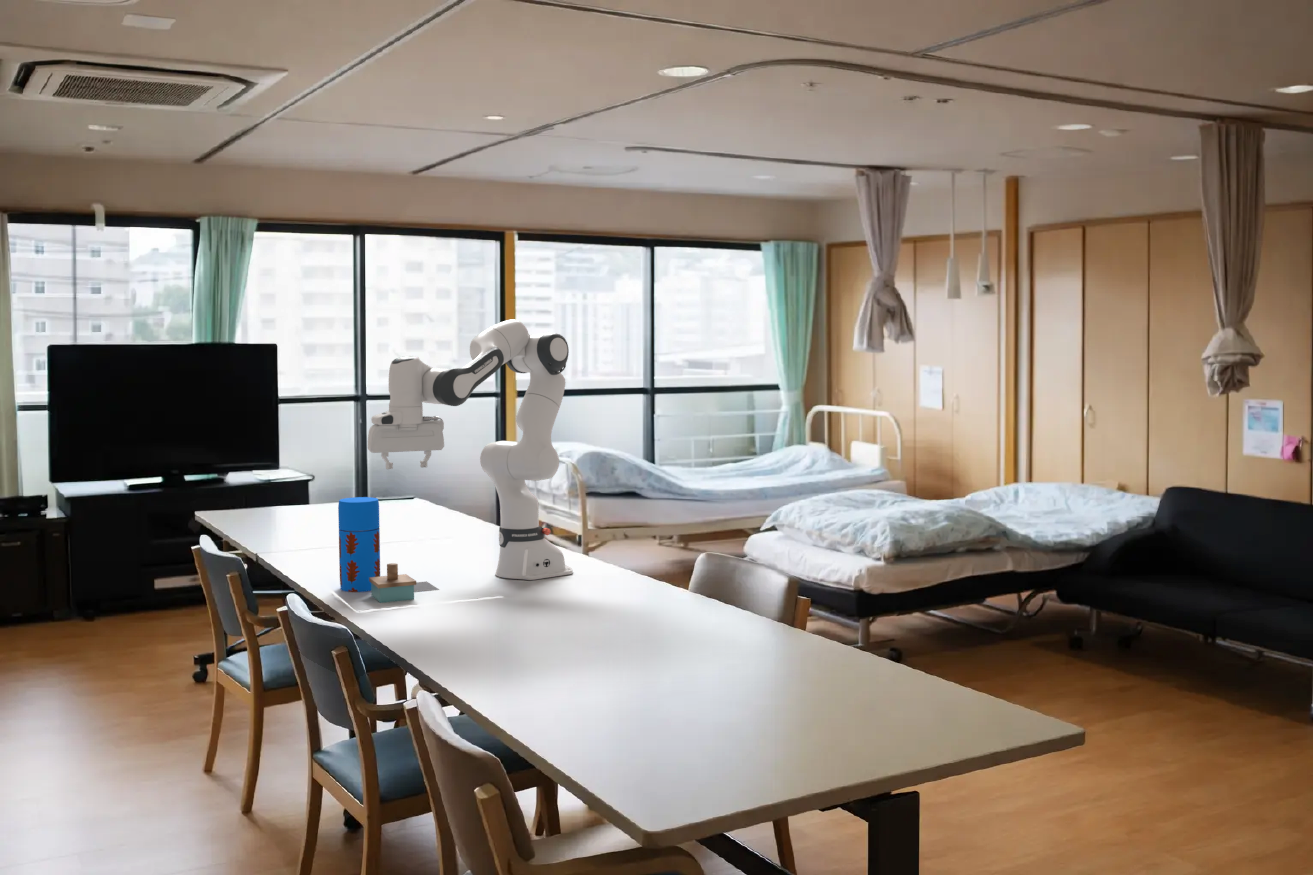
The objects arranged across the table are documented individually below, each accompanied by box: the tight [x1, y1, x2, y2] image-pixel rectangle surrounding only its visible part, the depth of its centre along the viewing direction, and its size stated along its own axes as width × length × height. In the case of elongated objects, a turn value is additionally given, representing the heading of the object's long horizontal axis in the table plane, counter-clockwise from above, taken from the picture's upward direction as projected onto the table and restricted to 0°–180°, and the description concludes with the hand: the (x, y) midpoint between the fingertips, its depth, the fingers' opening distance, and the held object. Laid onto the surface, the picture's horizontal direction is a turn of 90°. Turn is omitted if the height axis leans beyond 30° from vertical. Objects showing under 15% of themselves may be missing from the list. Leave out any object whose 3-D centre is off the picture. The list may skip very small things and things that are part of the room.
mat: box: [414, 581, 440, 593], centre depth 329 cm, size 12×12×1 cm
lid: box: [369, 562, 417, 588], centre depth 316 cm, size 10×10×5 cm
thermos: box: [337, 496, 381, 593], centre depth 327 cm, size 11×11×25 cm
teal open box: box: [370, 583, 415, 604], centre depth 316 cm, size 9×9×4 cm
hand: (406, 468), depth 322 cm, fingers open, 8 cm apart
